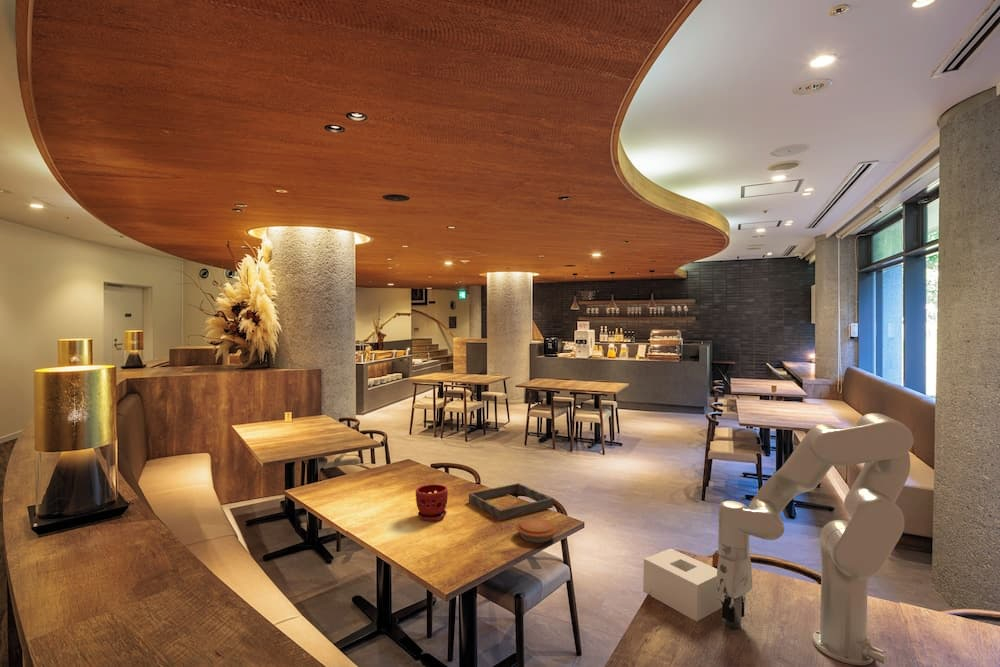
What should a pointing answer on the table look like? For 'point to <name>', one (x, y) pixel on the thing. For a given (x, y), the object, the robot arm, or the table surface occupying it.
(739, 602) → the peg
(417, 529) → the table surface
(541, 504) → the open rectangular frame
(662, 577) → the socket block
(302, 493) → the table surface
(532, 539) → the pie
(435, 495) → the plant pot
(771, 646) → the table surface
